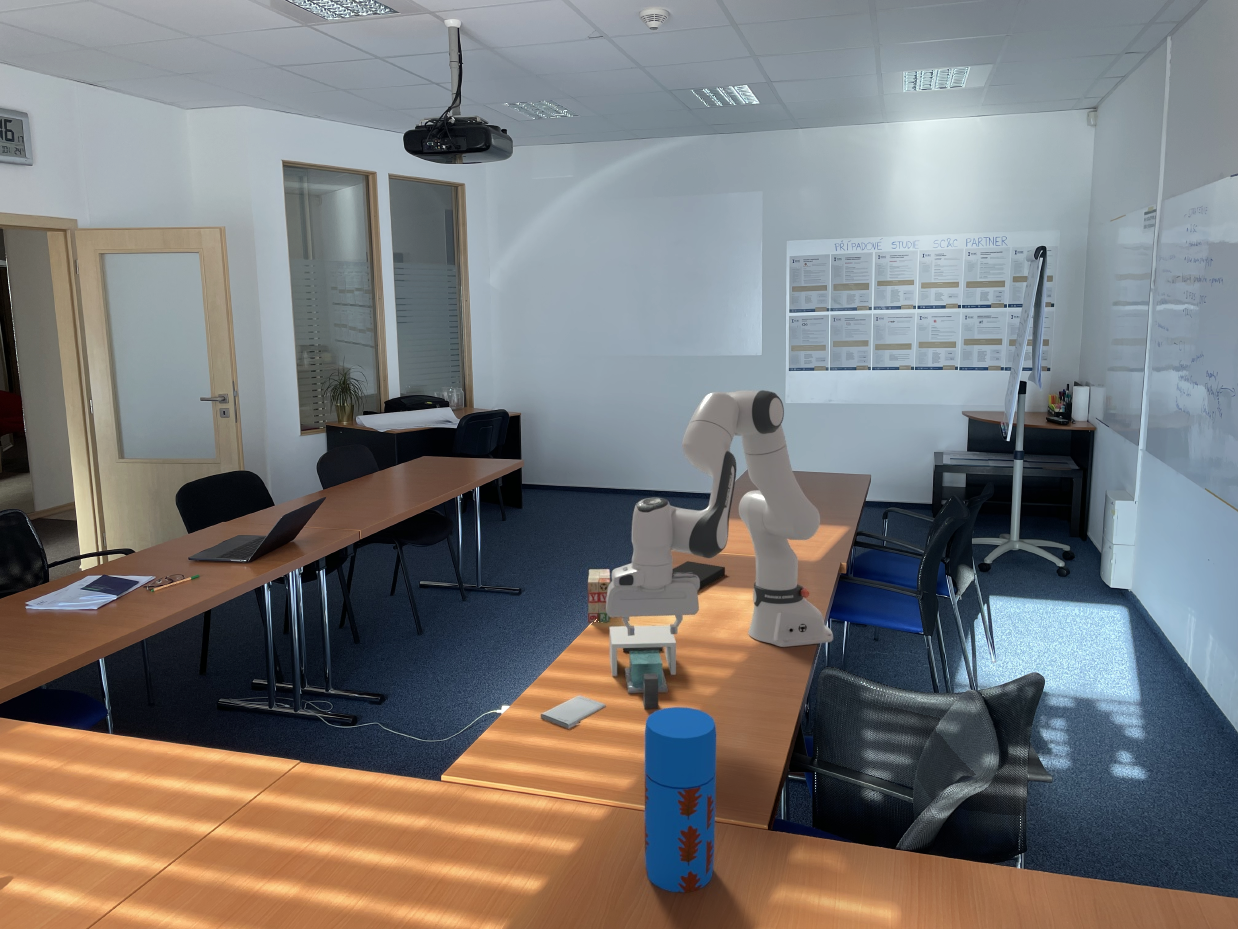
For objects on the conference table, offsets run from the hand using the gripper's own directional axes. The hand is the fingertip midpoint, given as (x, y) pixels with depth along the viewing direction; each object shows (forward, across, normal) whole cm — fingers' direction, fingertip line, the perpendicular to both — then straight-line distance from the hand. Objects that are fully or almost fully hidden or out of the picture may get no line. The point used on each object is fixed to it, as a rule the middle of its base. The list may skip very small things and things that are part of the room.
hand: (652, 634), depth 194 cm
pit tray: (+17, -1, -34) cm, 38 cm away
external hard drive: (+18, -22, -93) cm, 97 cm away
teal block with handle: (+16, 0, -8) cm, 18 cm away
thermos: (+17, +2, +59) cm, 61 cm away
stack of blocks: (+18, +9, -66) cm, 68 cm away
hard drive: (+18, +18, +2) cm, 25 cm away
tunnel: (+17, 0, -22) cm, 28 cm away
